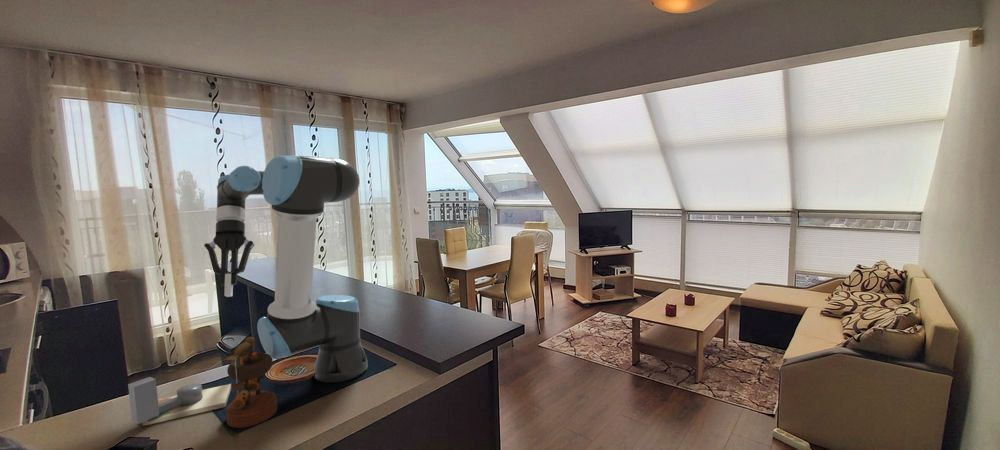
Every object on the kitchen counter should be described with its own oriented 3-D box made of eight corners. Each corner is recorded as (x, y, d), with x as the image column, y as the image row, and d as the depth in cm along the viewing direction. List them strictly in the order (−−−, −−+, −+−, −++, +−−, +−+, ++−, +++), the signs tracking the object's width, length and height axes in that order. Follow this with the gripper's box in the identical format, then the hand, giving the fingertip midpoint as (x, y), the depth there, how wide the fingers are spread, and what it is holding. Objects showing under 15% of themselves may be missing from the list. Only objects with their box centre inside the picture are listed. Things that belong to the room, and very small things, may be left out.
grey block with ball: (196, 393, 102) (193, 360, 101) (206, 397, 100) (203, 363, 99) (130, 420, 90) (126, 383, 89) (139, 426, 88) (135, 388, 87)
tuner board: (231, 387, 107) (230, 383, 107) (224, 409, 97) (224, 404, 97) (153, 404, 99) (152, 399, 99) (136, 429, 89) (135, 424, 89)
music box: (270, 426, 89) (255, 345, 87) (216, 439, 86) (200, 355, 84) (288, 393, 104) (276, 323, 101) (242, 403, 101) (229, 330, 99)
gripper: (256, 225, 127) (256, 295, 121) (209, 227, 122) (206, 300, 115) (252, 217, 121) (251, 291, 114) (201, 219, 116) (197, 296, 109)
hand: (228, 295), depth 115 cm, fingers closed
